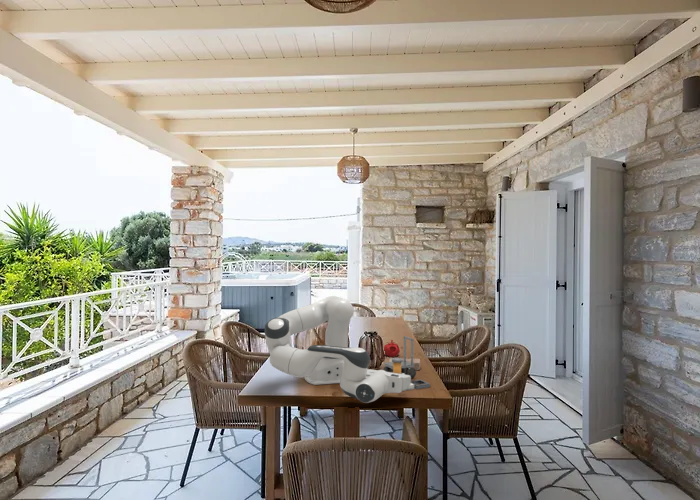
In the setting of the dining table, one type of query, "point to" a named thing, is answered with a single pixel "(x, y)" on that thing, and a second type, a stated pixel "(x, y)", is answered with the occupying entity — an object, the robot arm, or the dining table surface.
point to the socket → (420, 384)
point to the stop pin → (397, 365)
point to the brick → (415, 362)
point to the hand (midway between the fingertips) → (392, 373)
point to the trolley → (404, 362)
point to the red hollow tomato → (391, 349)
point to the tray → (409, 387)
